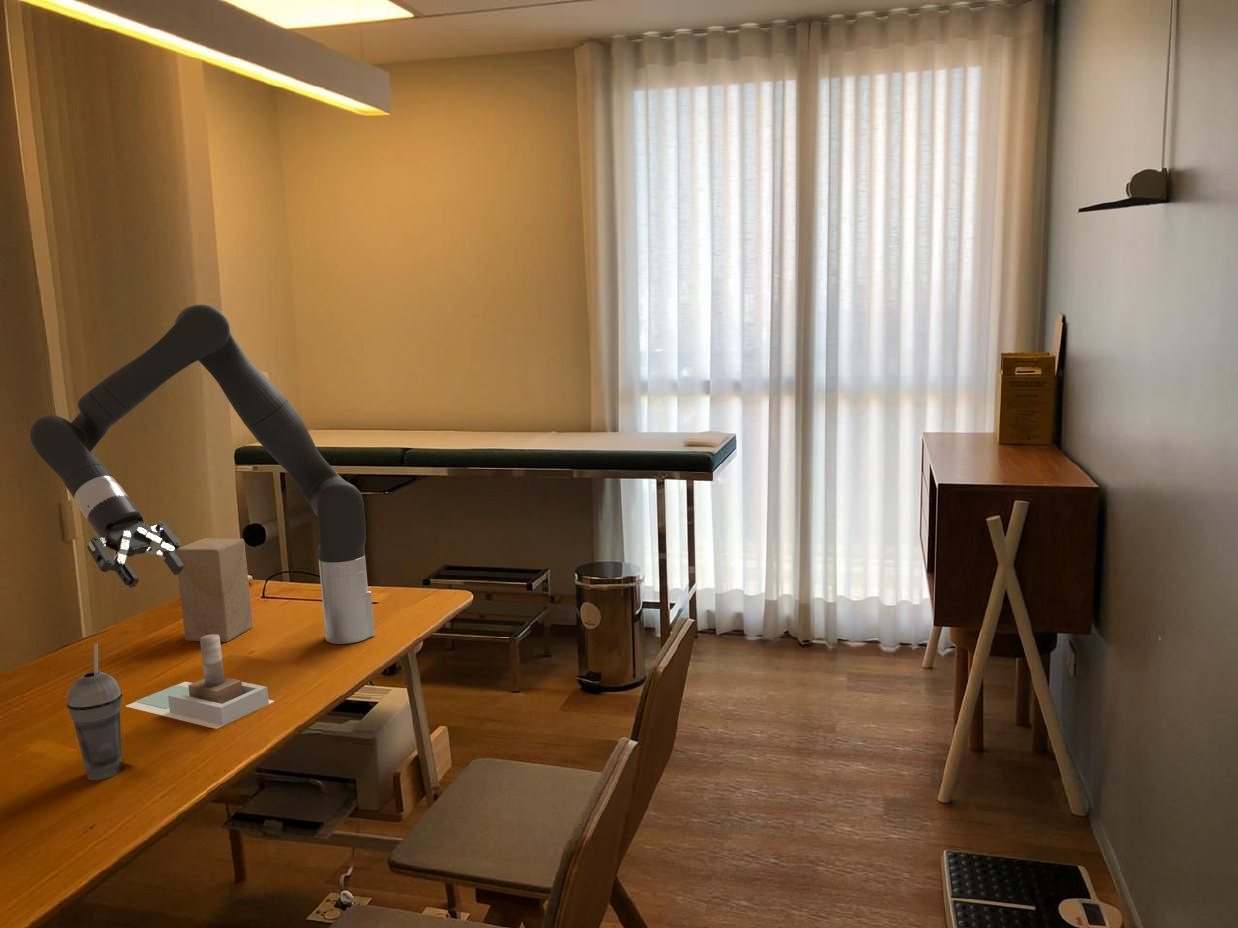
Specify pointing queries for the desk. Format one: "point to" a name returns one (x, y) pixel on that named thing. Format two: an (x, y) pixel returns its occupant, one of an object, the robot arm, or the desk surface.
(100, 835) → the desk surface
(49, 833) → the desk surface
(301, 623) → the desk surface
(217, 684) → the peg with base
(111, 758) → the beverage cup
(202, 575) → the wooden block
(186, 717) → the docking tray
